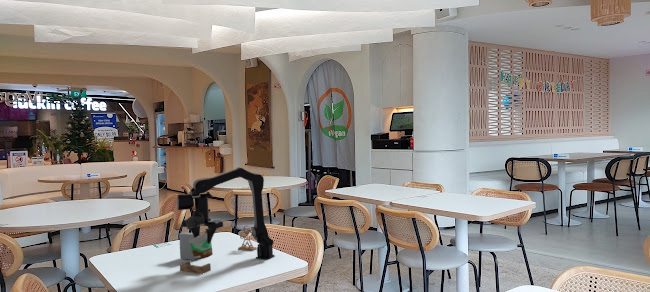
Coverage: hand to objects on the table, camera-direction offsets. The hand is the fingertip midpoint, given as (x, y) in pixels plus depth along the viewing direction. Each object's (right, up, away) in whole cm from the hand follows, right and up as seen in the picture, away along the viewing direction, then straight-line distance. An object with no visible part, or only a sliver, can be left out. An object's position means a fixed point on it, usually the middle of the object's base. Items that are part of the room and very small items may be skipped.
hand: (203, 242), depth 203 cm
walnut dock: (-2, -11, -5) cm, 12 cm away
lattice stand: (+15, -10, +29) cm, 34 cm away
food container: (+2, -6, +1) cm, 6 cm away
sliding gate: (-10, -11, +14) cm, 20 cm away
